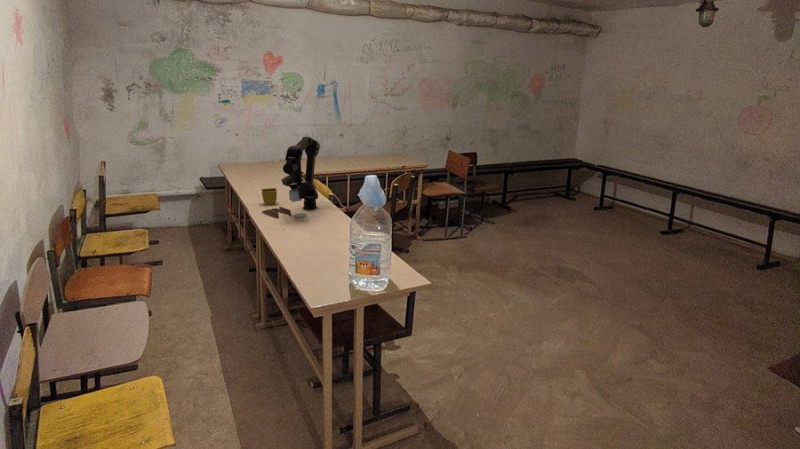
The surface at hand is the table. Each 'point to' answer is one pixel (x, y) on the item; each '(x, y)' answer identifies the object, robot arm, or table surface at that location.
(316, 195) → the robot arm
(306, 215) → the coaster
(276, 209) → the tray
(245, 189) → the table surface
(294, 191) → the block
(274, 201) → the flower pot
